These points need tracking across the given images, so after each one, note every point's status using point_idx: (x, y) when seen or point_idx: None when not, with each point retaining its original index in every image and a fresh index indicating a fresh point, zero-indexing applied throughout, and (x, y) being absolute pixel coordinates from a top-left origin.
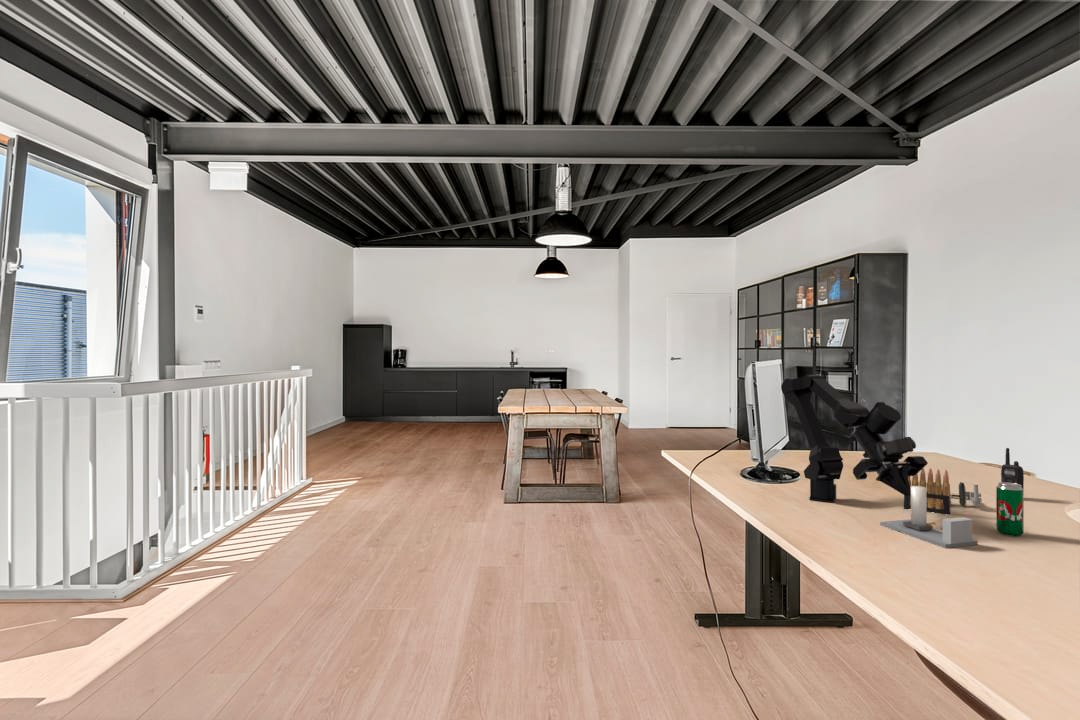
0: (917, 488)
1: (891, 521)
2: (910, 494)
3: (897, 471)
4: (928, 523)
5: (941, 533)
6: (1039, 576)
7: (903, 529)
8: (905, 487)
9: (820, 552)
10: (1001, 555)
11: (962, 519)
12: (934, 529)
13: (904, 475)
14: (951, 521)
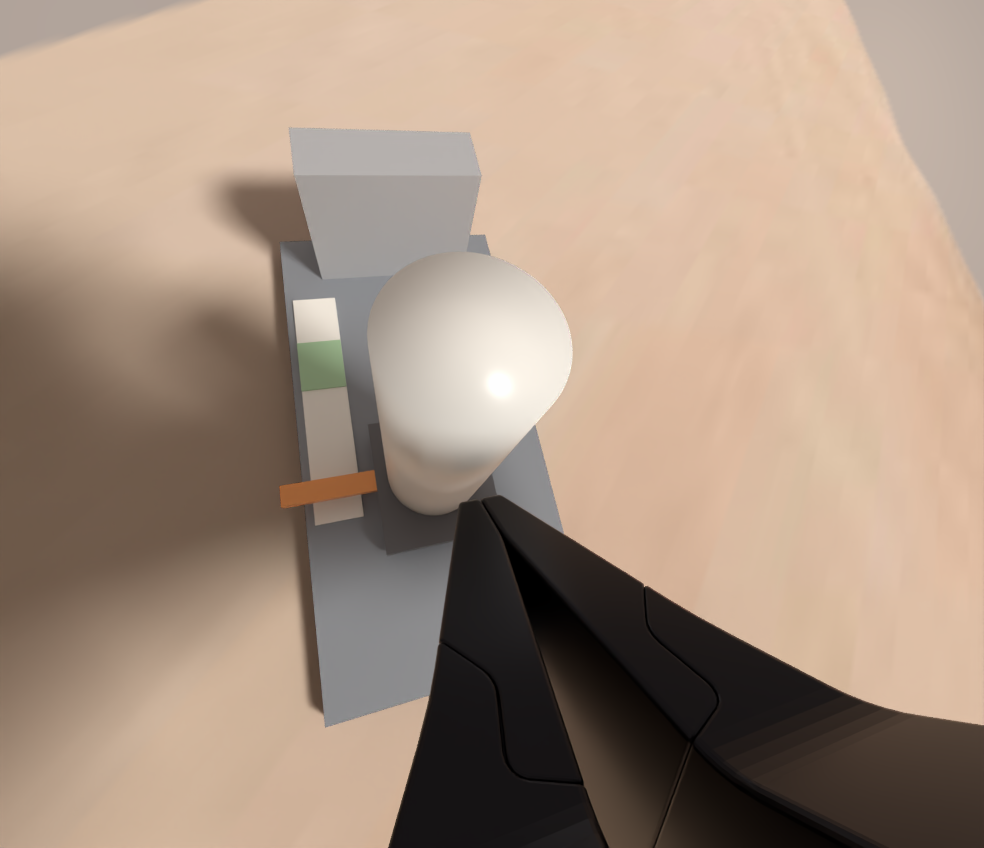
0: (536, 282)
1: None
2: (483, 498)
3: (862, 812)
4: (349, 482)
5: (365, 374)
6: (378, 8)
7: (537, 466)
8: (543, 544)
9: (934, 288)
10: None
11: (353, 144)
12: (349, 441)
13: (522, 794)
14: (463, 133)
